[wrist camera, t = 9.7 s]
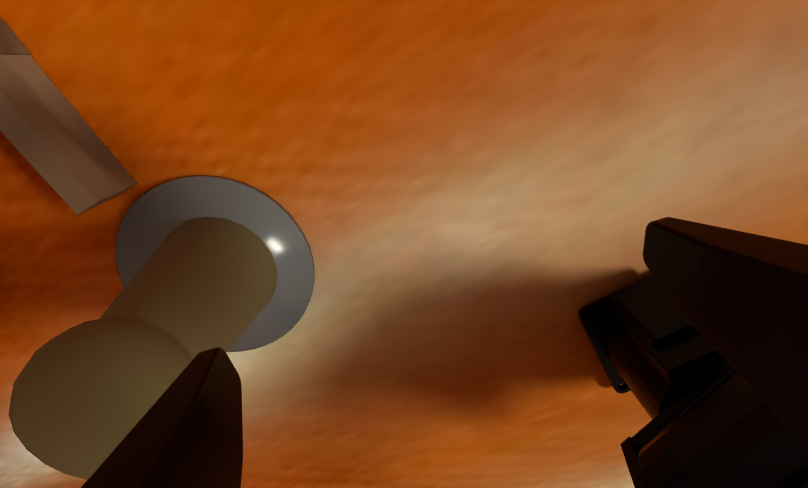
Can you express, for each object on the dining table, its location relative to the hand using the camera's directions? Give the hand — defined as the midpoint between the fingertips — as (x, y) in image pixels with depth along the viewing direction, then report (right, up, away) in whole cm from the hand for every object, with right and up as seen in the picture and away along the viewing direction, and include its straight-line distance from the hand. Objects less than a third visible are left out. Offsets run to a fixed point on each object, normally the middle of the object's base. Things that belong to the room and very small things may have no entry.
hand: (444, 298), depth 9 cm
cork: (-10, 0, +14) cm, 17 cm away
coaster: (-11, 0, +14) cm, 18 cm away
